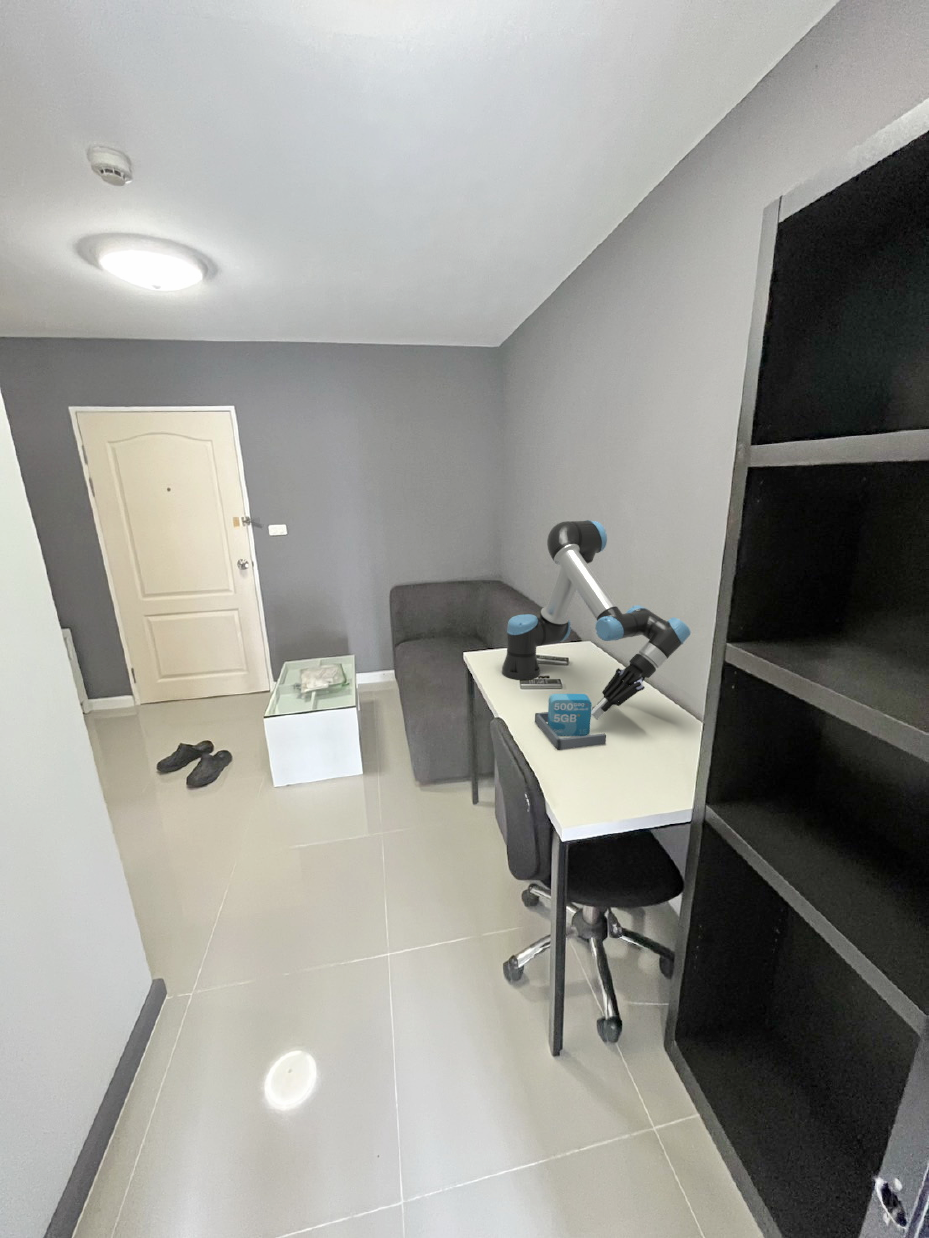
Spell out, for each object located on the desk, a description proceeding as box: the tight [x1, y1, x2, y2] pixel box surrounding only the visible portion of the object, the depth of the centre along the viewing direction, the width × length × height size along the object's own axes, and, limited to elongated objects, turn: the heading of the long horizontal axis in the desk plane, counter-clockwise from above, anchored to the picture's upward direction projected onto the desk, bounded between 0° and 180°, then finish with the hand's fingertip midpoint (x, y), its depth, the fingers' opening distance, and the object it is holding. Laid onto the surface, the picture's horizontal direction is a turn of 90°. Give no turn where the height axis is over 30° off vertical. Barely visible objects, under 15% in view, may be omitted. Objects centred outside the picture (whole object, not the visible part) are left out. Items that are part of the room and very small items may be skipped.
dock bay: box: [534, 711, 607, 751], centre depth 148 cm, size 18×15×3 cm
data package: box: [547, 693, 592, 737], centre depth 146 cm, size 12×4×12 cm, turn 90°
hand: (593, 716), depth 149 cm, fingers closed
